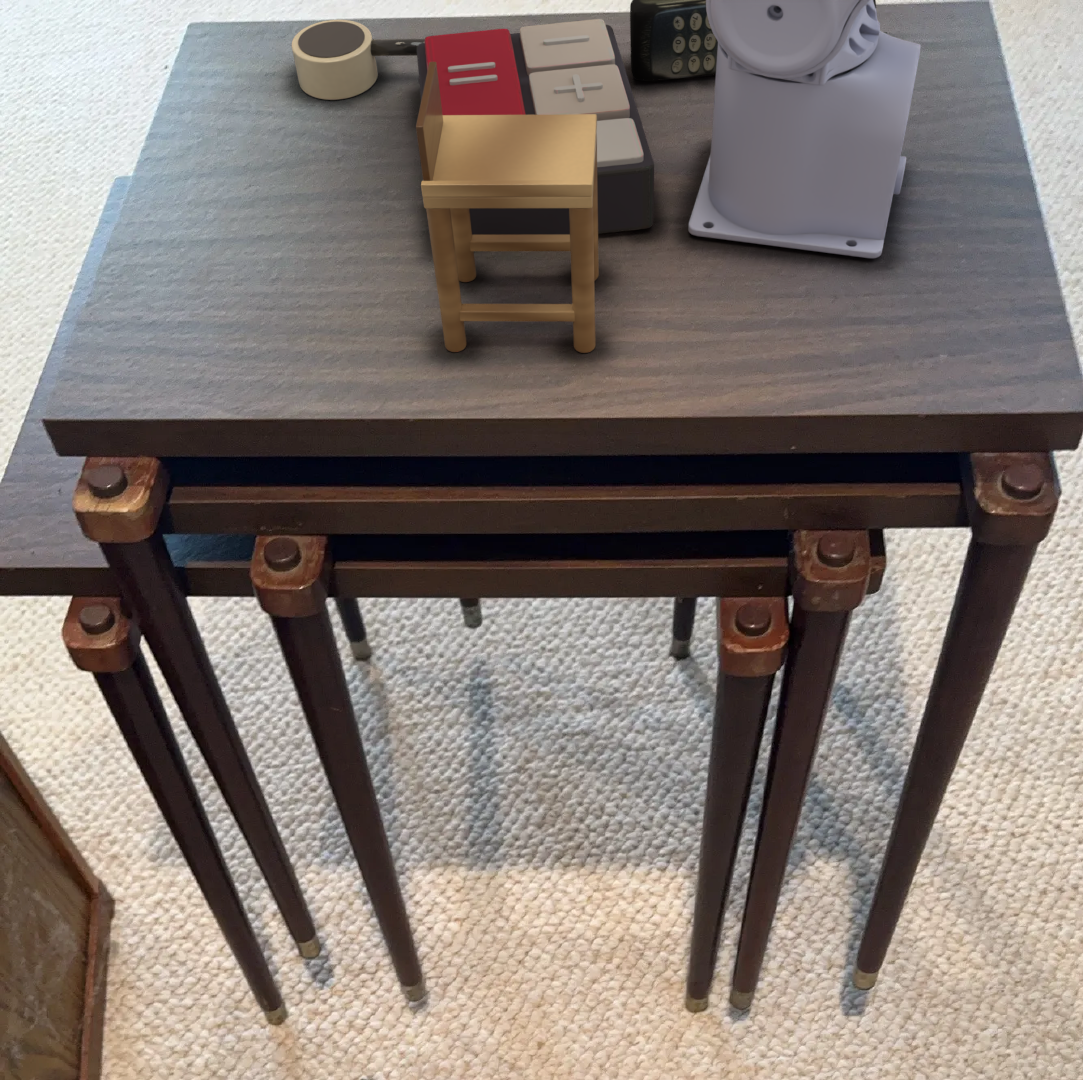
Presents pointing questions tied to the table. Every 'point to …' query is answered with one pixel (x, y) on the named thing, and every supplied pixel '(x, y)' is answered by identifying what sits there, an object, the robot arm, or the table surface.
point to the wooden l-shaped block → (503, 157)
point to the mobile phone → (672, 40)
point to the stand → (459, 244)
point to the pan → (342, 58)
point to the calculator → (551, 111)
